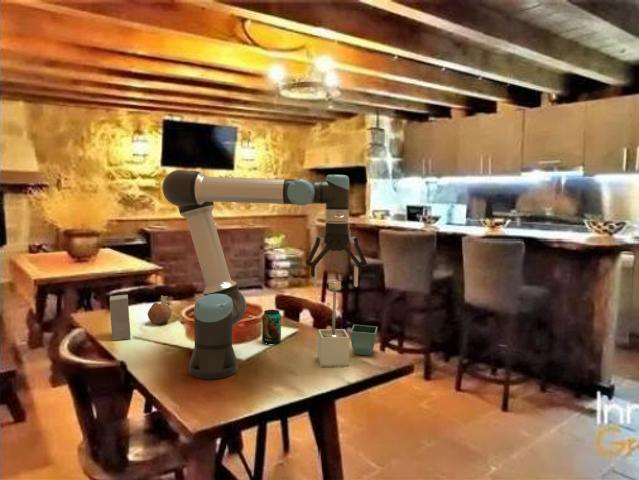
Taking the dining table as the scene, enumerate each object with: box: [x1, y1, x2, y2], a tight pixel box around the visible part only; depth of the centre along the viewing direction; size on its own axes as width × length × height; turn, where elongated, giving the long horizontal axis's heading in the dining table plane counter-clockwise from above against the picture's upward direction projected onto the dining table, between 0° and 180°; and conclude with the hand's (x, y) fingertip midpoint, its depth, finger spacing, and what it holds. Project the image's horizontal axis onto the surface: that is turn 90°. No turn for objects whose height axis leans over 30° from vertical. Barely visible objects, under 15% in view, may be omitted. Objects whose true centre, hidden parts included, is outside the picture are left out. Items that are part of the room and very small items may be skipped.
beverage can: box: [261, 309, 282, 345], centre depth 180 cm, size 7×7×12 cm
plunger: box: [324, 280, 343, 337], centre depth 159 cm, size 7×7×18 cm
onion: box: [147, 302, 172, 326], centre depth 201 cm, size 10×9×10 cm
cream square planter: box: [316, 328, 351, 368], centre depth 161 cm, size 9×9×10 cm
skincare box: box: [109, 294, 131, 342], centre depth 181 cm, size 8×7×16 cm
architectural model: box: [160, 295, 175, 307], centre depth 222 cm, size 3×7×7 cm, turn 40°
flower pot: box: [350, 324, 379, 356], centre depth 171 cm, size 9×9×9 cm
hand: (335, 286), depth 159 cm, fingers open, 13 cm apart
